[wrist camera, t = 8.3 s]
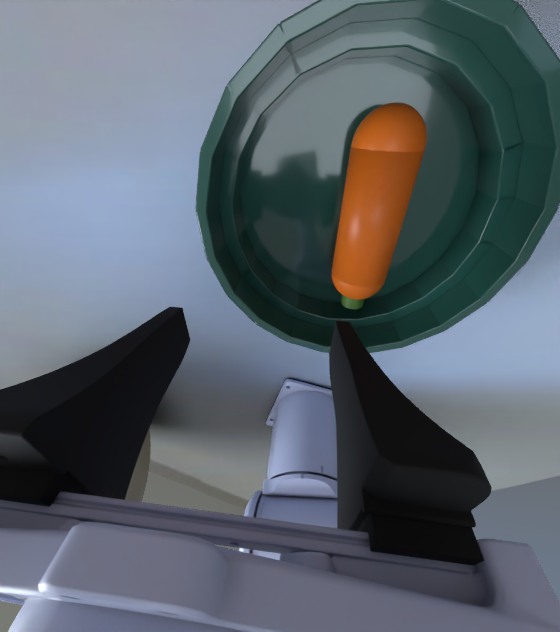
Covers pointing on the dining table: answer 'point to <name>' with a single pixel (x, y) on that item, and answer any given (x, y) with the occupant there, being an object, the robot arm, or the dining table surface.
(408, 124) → the carrot
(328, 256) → the green glass bowl
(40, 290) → the dining table surface
